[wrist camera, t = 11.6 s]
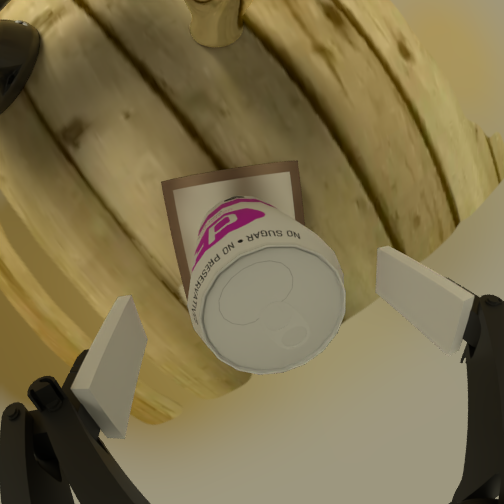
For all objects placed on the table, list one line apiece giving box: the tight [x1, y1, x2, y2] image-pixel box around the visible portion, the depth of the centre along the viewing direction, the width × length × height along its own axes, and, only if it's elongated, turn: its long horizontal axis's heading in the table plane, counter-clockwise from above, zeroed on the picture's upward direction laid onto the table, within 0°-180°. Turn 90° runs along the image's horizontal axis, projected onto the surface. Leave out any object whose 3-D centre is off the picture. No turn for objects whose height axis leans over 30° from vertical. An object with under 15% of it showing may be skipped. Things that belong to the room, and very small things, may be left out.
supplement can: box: [187, 196, 346, 375], centre depth 20 cm, size 8×8×15 cm
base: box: [161, 160, 305, 302], centre depth 29 cm, size 13×13×4 cm
